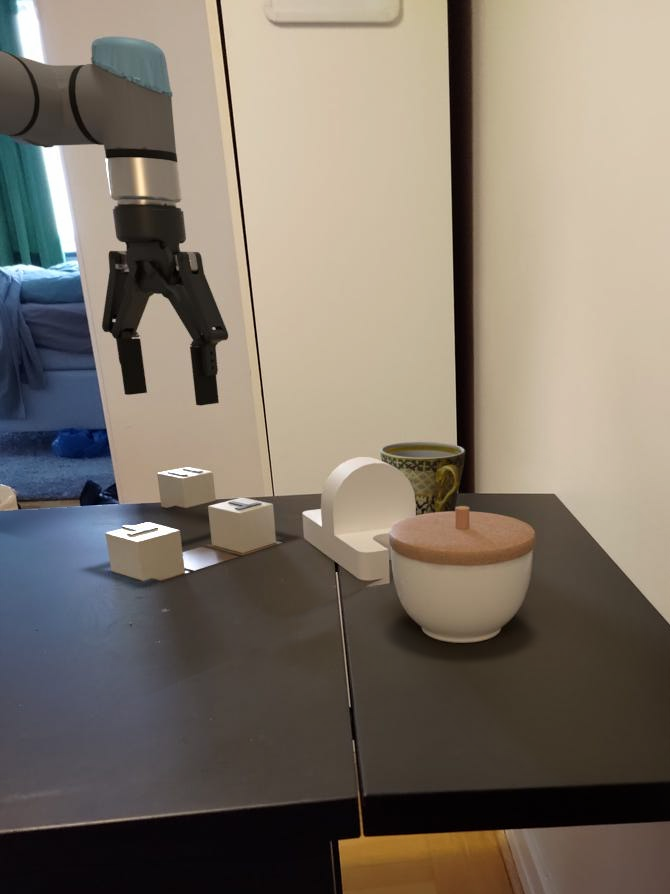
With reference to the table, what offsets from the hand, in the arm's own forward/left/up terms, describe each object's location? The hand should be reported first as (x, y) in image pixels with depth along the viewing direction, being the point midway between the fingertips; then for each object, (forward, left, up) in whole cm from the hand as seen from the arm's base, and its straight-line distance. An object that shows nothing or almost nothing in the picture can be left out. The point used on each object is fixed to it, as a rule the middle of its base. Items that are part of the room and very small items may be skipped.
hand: (170, 399), depth 107 cm
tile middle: (-3, +3, -14) cm, 15 cm away
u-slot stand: (+30, +1, -15) cm, 34 cm away
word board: (+18, -12, -14) cm, 26 cm away
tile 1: (+18, -19, -14) cm, 29 cm away
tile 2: (+18, -6, -14) cm, 23 cm away
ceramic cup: (+30, +12, -15) cm, 36 cm away
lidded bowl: (+51, -10, -15) cm, 54 cm away
